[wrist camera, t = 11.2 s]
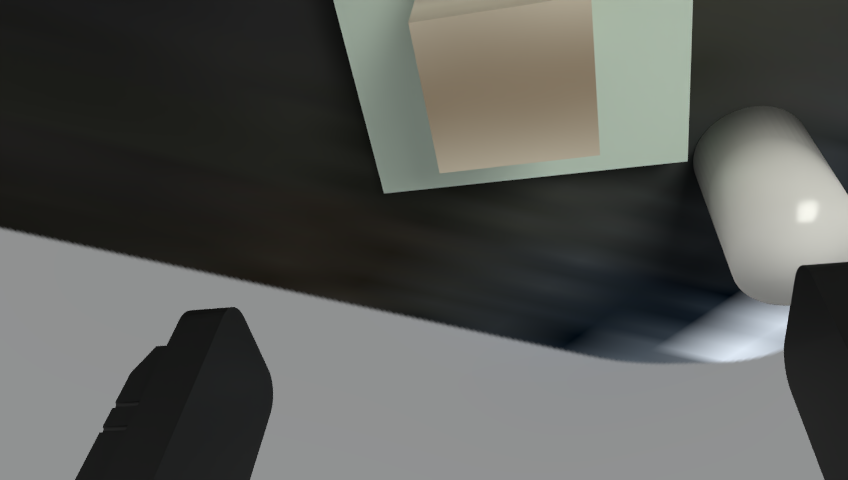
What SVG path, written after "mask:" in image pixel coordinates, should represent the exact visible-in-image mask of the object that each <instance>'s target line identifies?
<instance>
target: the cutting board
mask: <svg viewBox="0 0 848 480" xmlns="http://www.w3.org/2000/svg"><path fill="white" fill-rule="evenodd" d="M333 1H334V5H335V9H336V12H337V16H338V20H339V24H340V28H341V32H342V35H343V39H344V43H345V47H346V51H347V54H348V58H349V62H350V66H351V70H352V73H353V77H354V81H355V85H356V89H357V92H358V96H359V100H360V104H361V108H362V112H363V115H364V119H365V123H366V127H367V131H368V134H369V138H370V142H371V146H372V150H373V153H374V157H375V161H376V165H377V169H378V172H379V176H380V180H381V184H382V188H383V192H384V193H394V192H403V191H413V190H422V189H431V188H441V187H450V186H460V185H469V184H478V183H488V182H497V181H507V180H516V179H526V178H535V177H544V176H554V175H563V174H573V173H582V172H591V171H601V170H610V169H620V168H629V167H639V166H648V165H657V164H667V163H676V162H686V161H688V134H689V103H690V72H691V41H692V10H693V0H591V2H592V20H593V38H594V56H595V74H596V92H597V110H598V128H599V146H600V155H597V156H589V157H580V158H571V159H562V160H553V161H545V162H536V163H527V164H518V165H509V166H501V167H492V168H483V169H474V170H466V171H457V172H448V173H439V168H438V163H437V158H436V153H435V149H434V144H433V139H432V134H431V130H430V125H429V120H428V115H427V111H426V106H425V101H424V96H423V91H422V87H421V82H420V77H419V72H418V68H417V63H416V58H415V53H414V49H413V44H412V39H411V34H410V29H409V25H408V22H409V18H410V15H411V11H412V8H413V4H414V1H415V0H333Z"/></svg>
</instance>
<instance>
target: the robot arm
mask: <svg viewBox="0 0 848 480" xmlns="http://www.w3.org/2000/svg"><path fill="white" fill-rule="evenodd" d="M784 361H785V369H786V375H787V379H788V383H789V386H790V390H791V392H792V395H793V398H794V400H795V403H796V405H797V408H798V411H799V413H800V416H801V419H802V421H803V424H804V426H805V429H806V432H807V434H808V437H809V440H810V442H811V445H812V448H813V450H814V453H815V456H816V458H817V461H818V464H819V466H820V469H821V471H822V474H823V476H824V479H825V480H848V262H838V263H825V264H812V265H801V266H800V267H799V268H798V269H797V272H796V275H795V280H794V286H793V293H792V299H791V305H790V311H789V317H788V324H787V330H786V336H785V343H784ZM272 402H273V387H272V380H271V376H270V373H269V370H268V368H267V366H266V364H265V361H264V359H263V357H262V355H261V353H260V351H259V348H258V346H257V344H256V342H255V340H254V338H253V336H252V333H251V332H250V329H249V327H248V325H247V323H246V321H245V318H244V316H243V315H242V313H241V312H240V311H239V310H238V309H237V308H235V307H230V308H217V309H204V310H192V311H187V312H186V313H184V314H183V315H182V316H181V318H180V320H179V322H178V324H177V326H176V328H175V330H174V332H173V334H172V336H171V338H170V340H169V342H168V344H167V346H156V348H154V349H153V351H151V353H150V354H149V355H148V356H147V357H146V358H145V359H144V360H143V361H142V362H141V363H140V364H139V365H138V366H137V367H136V368H135V369H134V370H133V371H132V372H131V374H130V375H129V377H128V380H127V381H126V383H125V385H124V387H123V389H122V391H121V393H120V395H119V397H118V398H117V400H116V408H113V409H112V410H111V412H110V414H109V416H108V418H107V420H106V421H105V423H104V425H103V428H104V430H103V432H102V433H99V435H98V437H97V439H96V441H95V443H94V444H93V446H92V449H91V450H90V452H89V454H88V456H87V458H86V460H85V462H84V464H83V466H82V468H81V469H80V472H79V473H78V475H77V477H76V479H75V480H250V477H251V474H252V471H253V468H254V465H255V461H256V458H257V455H258V452H259V448H260V445H261V442H262V439H263V436H264V432H265V429H266V426H267V423H268V419H269V416H270V413H271V408H272Z"/></svg>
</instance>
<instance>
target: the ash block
mask: <svg viewBox="0 0 848 480" xmlns="http://www.w3.org/2000/svg"><path fill="white" fill-rule="evenodd" d="M408 25H409V29H410V34H411V39H412V44H413V49H414V53H415V58H416V63H417V68H418V72H419V77H420V82H421V87H422V91H423V96H424V101H425V106H426V111H427V115H428V120H429V125H430V130H431V134H432V139H433V144H434V149H435V153H436V158H437V163H438V168H439V173H448V172H457V171H466V170H474V169H483V168H492V167H501V166H509V165H518V164H527V163H536V162H545V161H553V160H562V159H571V158H580V157H589V156H597V155H600V146H599V128H598V110H597V92H596V74H595V56H594V38H593V20H592V2H591V0H415V1H414V4H413V8H412V11H411V15H410V18H409V22H408Z"/></svg>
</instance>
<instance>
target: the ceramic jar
mask: <svg viewBox="0 0 848 480" xmlns="http://www.w3.org/2000/svg"><path fill="white" fill-rule="evenodd" d="M693 168H694V172H695V175H696V178H697V181H698V183H699V186H700V189H701V192H702V194H703V197H704V200H705V202H706V205H707V208H708V211H709V213H710V216H711V219H712V222H713V224H714V227H715V230H716V233H717V235H718V238H719V241H720V243H721V246H722V249H723V252H724V254H725V257H726V260H727V263H728V265H729V268H730V271H731V274H732V276H733V279H734V281H735V283H736V284H737V286H738V287H739V288H740V289H741V290H742V291H743V292H744V293H745V294H747V295H748V296H750V297H751V298H753V299H755V300H758V301H760V302H764V303H767V304H773V305H783V306H785V305H791V299H792V293H793V286H794V280H795V275H796V272H797V269H798V268H799V267H800V266H801V265H812V264H825V263H838V262H848V195H847V193H846V191H845V190H844V188H843V187H842V185H841V184H840V182H839V180H838V179H837V177H836V176H835V174H834V173H833V171H832V170H831V168H830V166H829V165H828V163H827V162H826V160H825V159H824V157H823V155H822V154H821V152H820V151H819V149H818V148H817V146H816V145H815V143H814V141H813V140H812V138H811V137H810V135H809V134H808V132H807V130H806V129H805V127H804V126H803V124H802V123H801V122H800V120H798V119H797V118H796V117H795V116H794V115H792V114H791V113H789V112H787V111H785V110H783V109H780V108H776V107H770V106H754V107H748V108H744V109H740V110H737V111H734V112H732V113H730V114H728V115H726V116H724V117H722V118H721V119H719V120H718V121H716V122H715V123H714V124H713V125H711V126H710V127H709V128H708V129H707V131H706V132H705V133H704V134H703V135H702V137H701V138H700V140H699V142H698V144H697V146H696V148H695V152H694V156H693Z"/></svg>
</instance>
